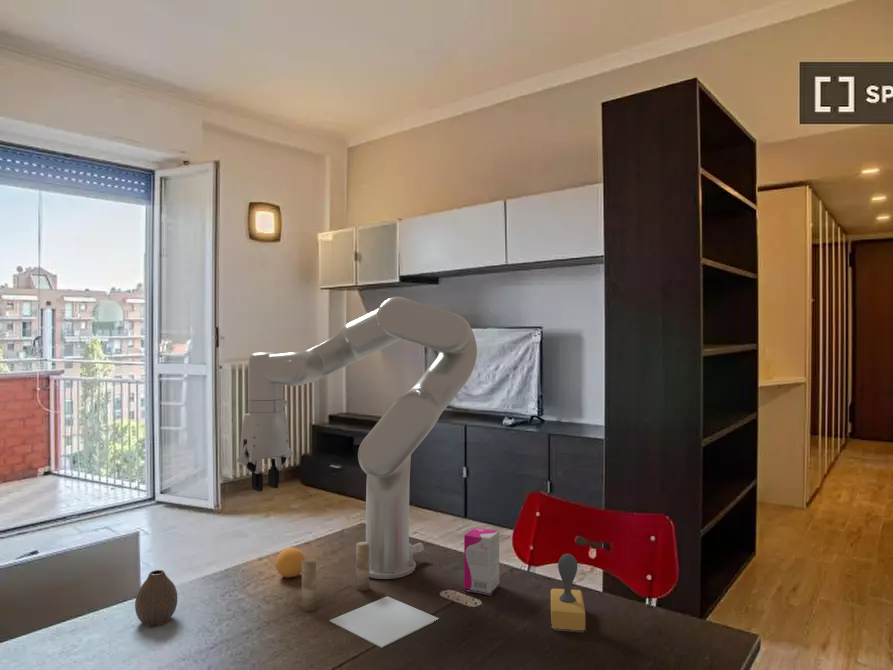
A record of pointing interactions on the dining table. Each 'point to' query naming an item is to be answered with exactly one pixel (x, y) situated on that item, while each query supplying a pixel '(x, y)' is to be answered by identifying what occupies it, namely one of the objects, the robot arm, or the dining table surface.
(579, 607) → the rubber stamp
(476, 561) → the supplement box
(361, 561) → the post
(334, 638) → the dining table surface
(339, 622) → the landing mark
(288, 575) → the ball
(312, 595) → the post
